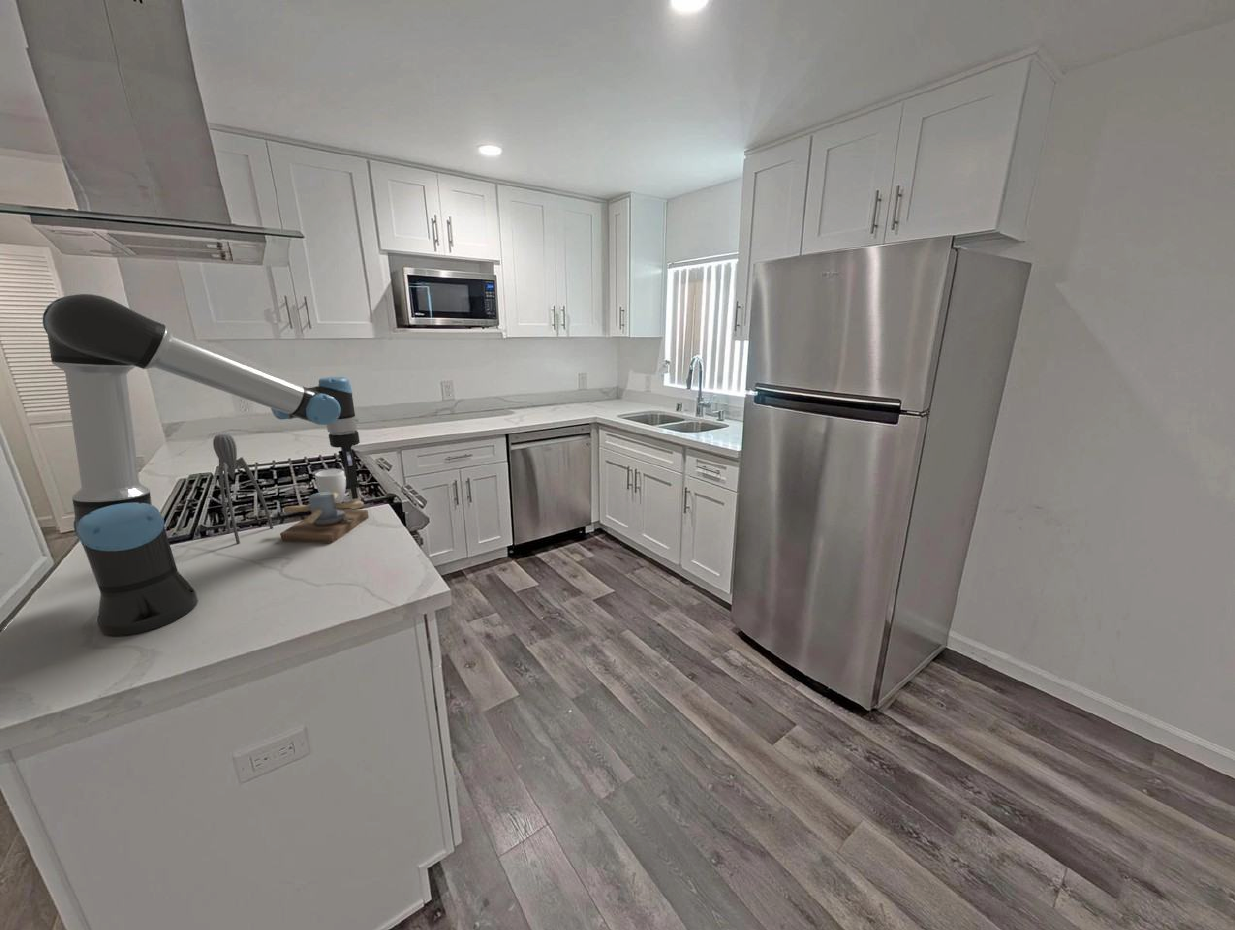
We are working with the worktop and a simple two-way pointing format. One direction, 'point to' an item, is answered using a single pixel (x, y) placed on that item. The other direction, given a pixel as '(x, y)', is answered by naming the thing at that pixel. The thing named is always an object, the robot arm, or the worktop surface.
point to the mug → (332, 483)
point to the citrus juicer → (232, 476)
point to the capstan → (324, 508)
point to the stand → (324, 529)
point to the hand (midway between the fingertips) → (356, 507)
